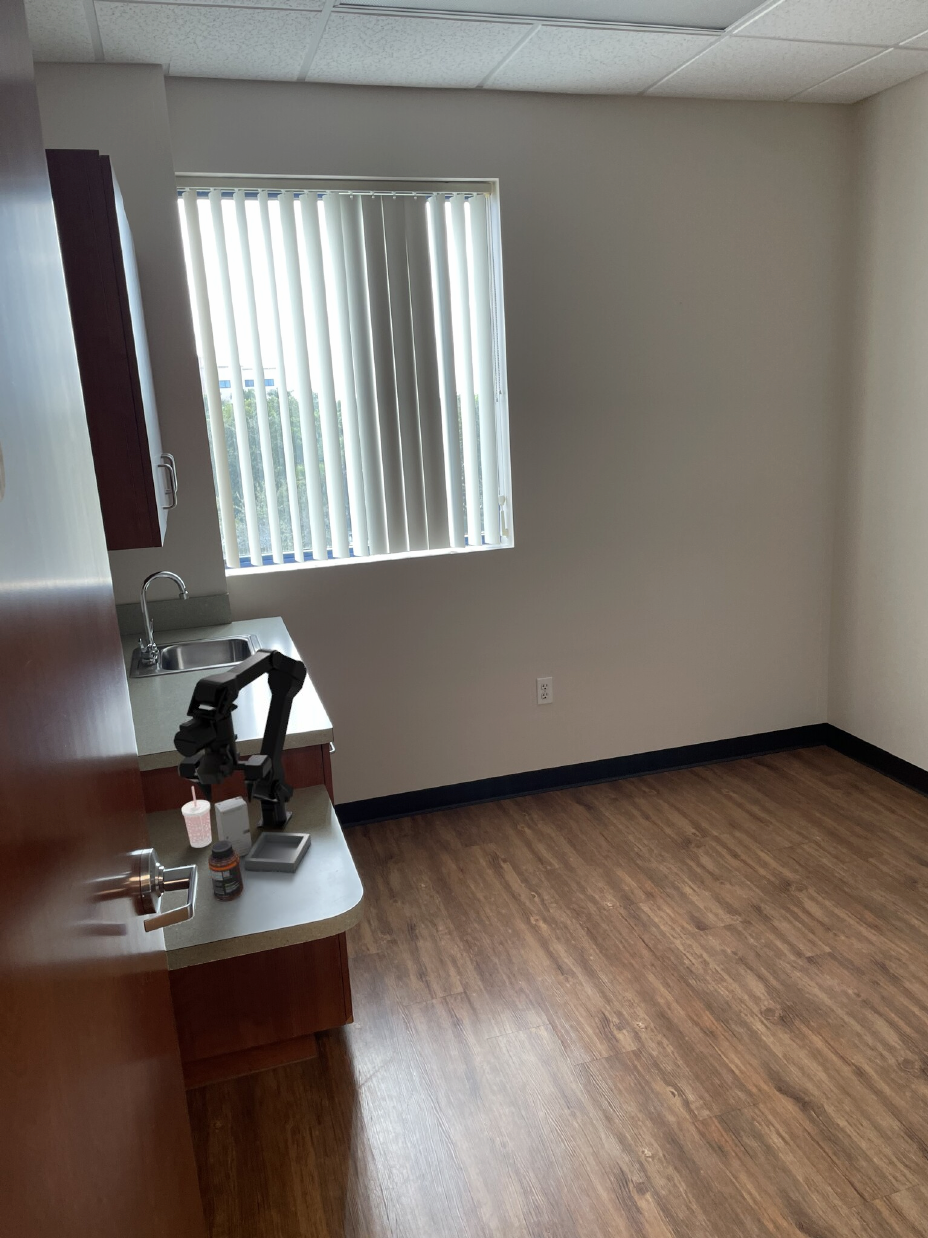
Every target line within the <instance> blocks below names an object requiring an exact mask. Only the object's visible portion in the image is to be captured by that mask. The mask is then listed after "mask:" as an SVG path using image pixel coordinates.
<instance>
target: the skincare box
mask: <svg viewBox="0 0 928 1238" xmlns="http://www.w3.org/2000/svg"><path fill="white" fill-rule="evenodd" d="M214 811H215V819H216V825H217V833H218V834H217V835H218V841H221V840H227V841H230V842H231V844H232V849H234V850H236V851H237V853H238V856H239V858H240V857H242V856H245V855H246V856H247V855H248V853H249V852H250V850H251V849H252V847H253V846H252V838H251V831H250V830H251V829H250V820H249V819H250V818H249V812H248V811H249V810H248V804H247V802H246V801H245V800H244V799H243V797H242V796H237V797H233V798H230V799H225V800H223V801H219V802H216V803H214Z"/></svg>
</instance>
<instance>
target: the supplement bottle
mask: <svg viewBox="0 0 928 1238" xmlns="http://www.w3.org/2000/svg"><path fill="white" fill-rule="evenodd" d="M210 849H211V853H210V855H209V857H208V860H207V861H208V868H209V874H210V881H211V886H212V893H213V895H214V898H215V899H216V900H218V901H223V902H224V901H225V902H226V901H227V902H229V901H232V900H234V899H236V898H238V897H240V896H241V894H242V893H243V892H244V883H243V878H242V877H243V876H242V869H241V868H242V867H241V863H240V862H241V861H240V857H239V856H238V853H237V851H236V850H234V849H232V844H231V842H230V841H227V840H221V841H219V840H218V841H216V842H214V843H213V844H212V845H211V847H210Z"/></svg>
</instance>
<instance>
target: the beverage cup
mask: <svg viewBox="0 0 928 1238" xmlns="http://www.w3.org/2000/svg"><path fill="white" fill-rule="evenodd" d="M191 793H192V797H193V798H192V799H193V800H191V801H189V802H187V803H185V804H184V805H183V806H182V807H181V812H182V816H183V817H184V821H185V825H186V829H187V833H188V834H187V835H188V839H189V843H190V846H191V847H192V848H196V849H197V848H204V847H207V846H209V845H210V844H211V843H212V841H213V840H212V830H211V829H212V827H211V813H210V810H211V802H210V801H208V800H206V799H205V800H204V799H197V798H196V793H195V787H194V785H192V786H191Z"/></svg>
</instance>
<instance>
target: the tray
mask: <svg viewBox="0 0 928 1238" xmlns="http://www.w3.org/2000/svg"><path fill="white" fill-rule="evenodd" d="M311 839H312V838H311V833H299V832H297V833H294V832H276V831H275V832H274V831H273V832H272V831H262V832H261V834H260V835H259V836H258V838H257V840H256V841H255V843H254V844H253V846H252V849H251V850H250V852H249V853H248V854H246V857H245V858H244V860H243V863H244V864H243V865H244V871H247V872H265V873H284V874H296V872H297V870H298V869H299V867H300V865H301V864H302V861H303V860H304V857H305V856H306V853H307V852H308V850H309V848H310V846H311V845H312V842H311V841H312V840H311Z"/></svg>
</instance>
